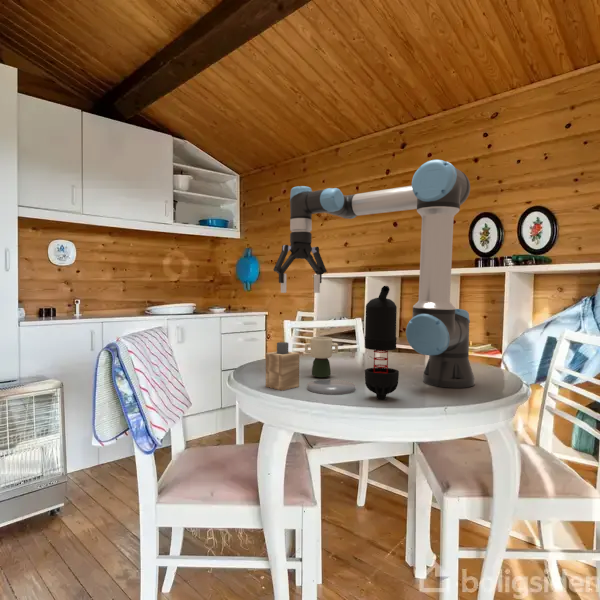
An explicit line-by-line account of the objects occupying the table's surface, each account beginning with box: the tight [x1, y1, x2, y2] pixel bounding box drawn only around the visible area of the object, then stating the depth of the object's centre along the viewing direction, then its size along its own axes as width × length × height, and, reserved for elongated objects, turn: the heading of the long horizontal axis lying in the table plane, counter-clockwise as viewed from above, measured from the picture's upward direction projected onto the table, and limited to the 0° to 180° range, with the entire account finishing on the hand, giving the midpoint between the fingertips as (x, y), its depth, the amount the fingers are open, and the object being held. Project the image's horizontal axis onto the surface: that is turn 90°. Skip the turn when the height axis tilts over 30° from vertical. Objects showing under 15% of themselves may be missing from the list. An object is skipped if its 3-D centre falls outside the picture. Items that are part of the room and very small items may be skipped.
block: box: [265, 351, 300, 391], centre depth 131 cm, size 7×7×10 cm
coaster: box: [306, 379, 356, 396], centre depth 129 cm, size 14×14×1 cm
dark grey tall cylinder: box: [276, 341, 289, 354], centre depth 131 cm, size 3×3×10 cm
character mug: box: [304, 336, 339, 378], centre depth 146 cm, size 11×7×13 cm, turn 89°
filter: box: [364, 285, 400, 401], centre depth 118 cm, size 14×9×30 cm
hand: (300, 292), depth 156 cm, fingers open, 13 cm apart
